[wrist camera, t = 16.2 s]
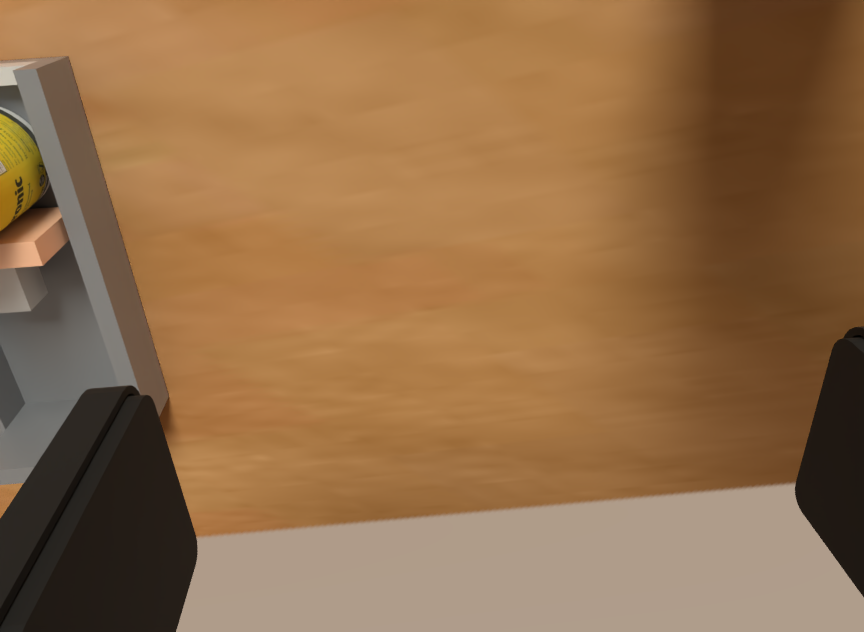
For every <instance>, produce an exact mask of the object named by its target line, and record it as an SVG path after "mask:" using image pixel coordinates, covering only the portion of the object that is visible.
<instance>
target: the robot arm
mask: <svg viewBox="0 0 864 632" xmlns="http://www.w3.org/2000/svg"><path fill="white" fill-rule="evenodd" d="M795 495H796V499H797V503H798V505H799V508H800V509H801V511H802V513H803V514H804V515H805V517H806V518H807V520H808V521H809V522H810V524H811V525H812V527H813V528H814V529H815V531H816V532H817V533H818V535H819V536H820V538H821V539H822V540H823V542H824V543H825V544H826V546H827V547H828V549H829V550H830V551H831V553H832V554H833V556H834V557H835V558H836V560H837V561H838V562H839V564H840V565H841V567H842V568H843V569H844V571H845V572H846V573H847V575H848V576H849V578H850V579H851V580H852V582H853V583H854V584H855V586H856V587H857V589H858V590H859V591H860V592H861V594H862V595H863V597H864V327H855V328H852V329H850V330H849V331H848V332H847V333H846V334H845V336H844V338H843V339H840V340H838V341H837V342H836V343H835V344H834V347H833V349H832V352H831V356H830V360H829V363H828V367H827V371H826V374H825V378H824V382H823V385H822V389H821V393H820V396H819V400H818V404H817V407H816V411H815V415H814V418H813V422H812V426H811V429H810V433H809V437H808V440H807V444H806V448H805V451H804V455H803V459H802V462H801V466H800V470H799V473H798V477H797V481H796V486H795ZM196 560H197V539H196V535H195V532H194V528H193V525H192V522H191V519H190V515H189V512H188V509H187V506H186V503H185V499H184V496H183V493H182V490H181V486H180V483H179V480H178V477H177V474H176V470H175V467H174V464H173V461H172V458H171V454H170V451H169V448H168V445H167V441H166V438H165V435H164V432H163V429H162V425H161V422H160V419H159V416H158V412H157V409H156V406H155V403H154V401H153V399H152V398H151V396H149V395H140V393H139V391H138V390H137V389H136V387H134V386H132V385H128V386H115V387H103V388H91V389H87V390H86V391H85V392H84V393H83V394H82V395H81V396H80V398H79V400H78V401H77V403H76V404H75V406H74V407H73V409H72V410H71V412H70V413H69V415H68V416H67V418H66V419H65V421H64V423H63V424H62V426H61V427H60V429H59V430H58V432H57V433H56V435H55V436H54V438H53V439H52V441H51V442H50V444H49V446H48V447H47V449H46V450H45V452H44V453H43V455H42V456H41V458H40V459H39V461H38V462H37V464H36V465H35V467H34V469H33V470H32V472H31V473H30V475H29V476H28V478H27V479H26V481H25V482H24V484H23V485H22V487H21V488H20V490H19V492H18V493H17V495H16V496H15V498H14V499H13V501H12V502H11V504H10V505H9V507H8V508H7V510H6V511H5V513H4V514H3V516H2V517H1V519H0V632H176V629H177V626H178V623H179V619H180V616H181V613H182V609H183V605H184V602H185V599H186V596H187V592H188V589H189V585H190V582H191V579H192V575H193V572H194V569H195V565H196Z"/></svg>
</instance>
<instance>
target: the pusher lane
mask: <svg viewBox="0 0 864 632" xmlns="http://www.w3.org/2000/svg"><path fill="white" fill-rule="evenodd" d="M0 107H3V108H5V109H7V110H10V111H11V112H13V113H15V114H17V115H18V116H20V117H21V118H22V119H24V120H25V121H26V122H27V123H29V124H30V125H31V127H32V130H33V133H34V135H35V138H36V141H37V144H38V147H39V150H40V153H41V156H42V159H43V162H44V165H45V168H46V171H47V174H48V177H49V180H50V184H49V187H48V189H47V191H46V192H45V194H44V195H43V196H42V197H41V199H39V200H38V201H37V202H36V203H35V204H34V205H33V206H31V207H30V208H29V209H36V208H50V207H59V210H60V213H61V216H62V219H63V222H64V225H65V227H66V230H67V233H68V236H69V239H70V240H69V241H68V242H67V243H66V244H65V245H64V246H63V247H62V248H61V249H60V250H59V251H57V252H56V253H55V254H54V255H53V256H52V257H51V258H50V259H49V260H48V261H47V262H46V263H45V264H44V265H43V266H38V267H39V269H40V272H41V275H42V277H43V280H44V283H45V286H46V288H47V291H48V293H47V294H46V295H45V297H44V298H43V299H42V300H41V301H40V302H39V303H38V304H37V305H36V306H35V307H34V308H33V309H32V310H31V311H23V312H10V313H0V485H4V484H16V483H24V482H25V481H26V479H27V478H28V476H29V475H30V473H31V472H32V470H33V469H34V467H35V465H36V464H37V462H38V461H39V459H40V458H41V456H42V455H43V453H44V452H45V450H46V449H47V447H48V446H49V444H50V442H51V441H52V439H53V438H54V436H55V435H56V433H57V432H58V430H59V429H60V427H61V426H62V424H63V423H64V421H65V419H66V418H67V416H68V415H69V413H70V412H71V410H72V409H73V407H74V406H75V404H76V403H77V401H78V400H79V398H80V396H81V395H82V394H83V393H84V392H85V391H86V390H87V389H91V388H103V387H115V386H128V385H132V386H134V387H136V389H137V390H138V391H139V393H140V395H149V396H151V398H152V399H153V401H154V403H155V406H156V409H157V412H158V416H159V417H160V415H161V412H162V410H163V408H164V406H165V404H166V402H167V399H168V397H169V395H168V392H167V388H166V385H165V382H164V378H163V375H162V371H161V368H160V365H159V361H158V358H157V355H156V351H155V348H154V344H153V341H152V338H151V334H150V331H149V328H148V324H147V321H146V317H145V314H144V311H143V307H142V304H141V301H140V297H139V294H138V290H137V287H136V284H135V280H134V277H133V274H132V270H131V267H130V263H129V260H128V257H127V253H126V250H125V247H124V243H123V240H122V236H121V233H120V230H119V226H118V223H117V220H116V216H115V213H114V209H113V206H112V203H111V199H110V196H109V193H108V189H107V186H106V182H105V179H104V176H103V172H102V169H101V166H100V162H99V159H98V155H97V152H96V149H95V145H94V142H93V139H92V135H91V132H90V129H89V125H88V122H87V118H86V115H85V112H84V108H83V105H82V102H81V98H80V95H79V91H78V88H77V85H76V81H75V78H74V75H73V71H72V68H71V64H70V61H69V58H68V56H65V57H50V58H35V59H20V60H5V61H0Z"/></svg>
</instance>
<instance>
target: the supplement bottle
mask: <svg viewBox="0 0 864 632" xmlns="http://www.w3.org/2000/svg"><path fill="white" fill-rule="evenodd" d="M49 184H50V180H49V177H48V174H47V171H46V168H45V165H44V162H43V159H42V156H41V153H40V150H39V147H38V144H37V141H36V138H35V135H34V133H33V130H32V127H31V125H30V124H29V123H27V122H26V121H25V120H24V119H22V118H21V117H20V116H18V115H17V114H15V113H13V112H11V111H10V110H7V109H5V108H3V107H0V231H1V230H3V229H4V228H5V227H6V226H8V225H9V224H10V223H11V222H13V221H14V220H15V219H16V218H18V217H19V216H20V215H21V214H23V213H24V212H25V211H27V210H28V209H29V208H30V207H31V206H33V205H34V204H35V203H36V202H37V201H38V200H39V199H41V197H42V196H43V195H44V194H45V192H46V191H47V189H48V187H49Z"/></svg>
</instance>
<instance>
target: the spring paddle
mask: <svg viewBox="0 0 864 632" xmlns="http://www.w3.org/2000/svg"><path fill="white" fill-rule="evenodd" d="M69 240H70V239H69V236H68V233H67V230H66V227H65V225H64V222H63V219H62V216H61V213H60V210H59V207H50V208H36V209H28V210H27V211H25V212H24V213H23V214H21V215H20V216H19V217H18V218H16V219H15V220H14V221H13V222H11V223H10V224H9V225H8V226H6V227H5V228H4V229H3V230H1V231H0V313H10V312H23V311H31V310H32V309H33V308H34V307H35V306H36V305H37V304H38V303H39V302H40V301H41V300H42V299H43V298H44V297H45V295H46V294H47V293H48V291H47V288H46V286H45V283H44V280H43V277H42V275H41V272H40V269H39V267H38V266H43V265H44V264H45V263H46V262H47V261H48V260H49V259H50V258H51V257H52V256H53V255H54V254H55V253H56V252H57V251H59V250H60V249H61V248H62V247H63V246H64V245H65V244H66V243H67V242H68V241H69Z"/></svg>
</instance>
